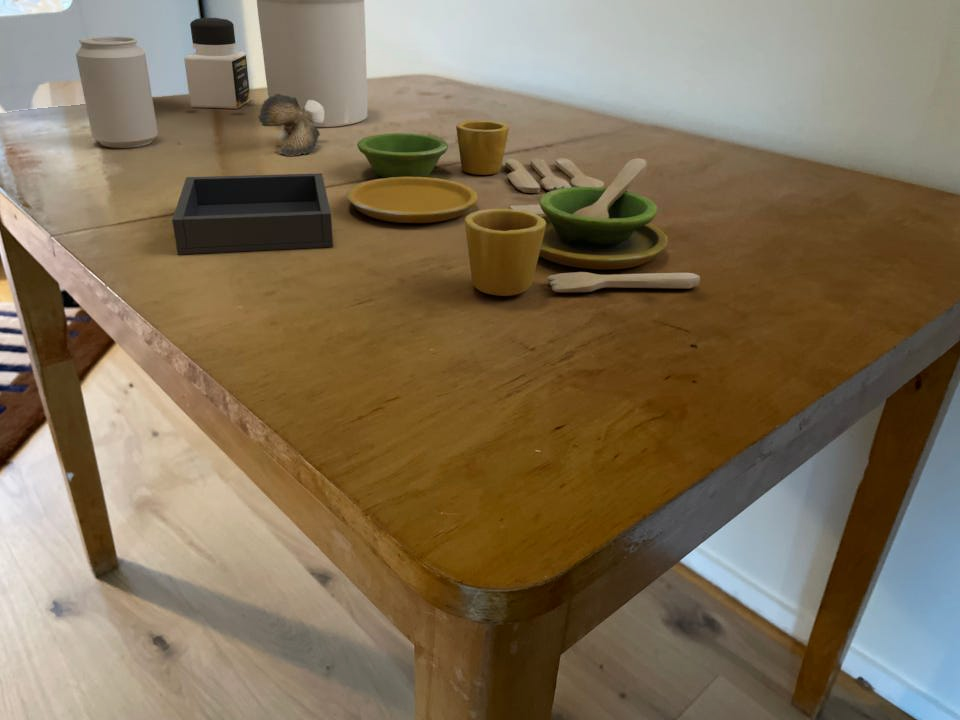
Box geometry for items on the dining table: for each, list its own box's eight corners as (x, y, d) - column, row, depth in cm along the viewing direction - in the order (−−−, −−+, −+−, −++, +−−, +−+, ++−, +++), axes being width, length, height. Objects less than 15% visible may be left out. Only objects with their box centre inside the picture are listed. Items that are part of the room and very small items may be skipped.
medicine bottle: (238, 109, 116) (228, 21, 110) (190, 107, 116) (177, 19, 110) (251, 100, 122) (242, 17, 116) (205, 98, 122) (194, 15, 116)
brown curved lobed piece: (257, 128, 100) (244, 130, 91) (285, 80, 98) (274, 77, 90) (309, 162, 102) (301, 168, 93) (338, 115, 100) (332, 116, 92)
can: (170, 143, 96) (154, 39, 91) (110, 152, 92) (89, 43, 86) (141, 132, 101) (124, 32, 95) (83, 141, 96) (61, 36, 90)
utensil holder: (322, 134, 104) (313, -12, 95) (243, 118, 110) (228, -19, 102) (391, 116, 115) (388, -15, 106) (315, 103, 121) (307, -22, 113)
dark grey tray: (177, 254, 64) (172, 219, 63) (190, 207, 75) (186, 177, 73) (332, 247, 67) (330, 213, 65) (324, 203, 78) (322, 173, 76)
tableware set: (715, 298, 60) (731, 219, 57) (350, 311, 56) (346, 226, 53) (574, 160, 96) (579, 107, 93) (345, 162, 91) (342, 106, 88)
